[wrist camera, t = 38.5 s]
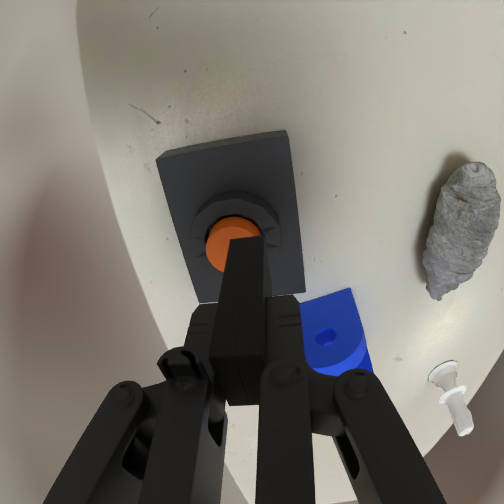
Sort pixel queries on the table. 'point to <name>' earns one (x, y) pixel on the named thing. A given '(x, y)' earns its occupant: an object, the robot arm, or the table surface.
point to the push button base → (235, 204)
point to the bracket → (334, 334)
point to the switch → (227, 238)
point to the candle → (453, 396)
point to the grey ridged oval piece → (461, 228)
